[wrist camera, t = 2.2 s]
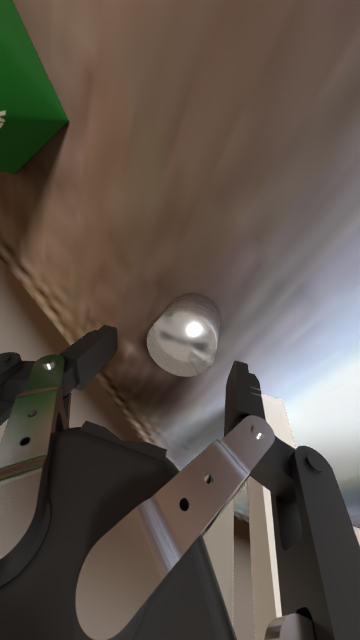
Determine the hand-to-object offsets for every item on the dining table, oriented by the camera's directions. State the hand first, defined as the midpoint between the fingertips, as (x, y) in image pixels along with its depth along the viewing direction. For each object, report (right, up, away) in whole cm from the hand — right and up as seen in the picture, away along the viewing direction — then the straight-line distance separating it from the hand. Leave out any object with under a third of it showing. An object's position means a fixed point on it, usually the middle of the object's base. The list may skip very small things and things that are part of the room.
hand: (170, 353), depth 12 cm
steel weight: (+2, +2, +5) cm, 6 cm away
